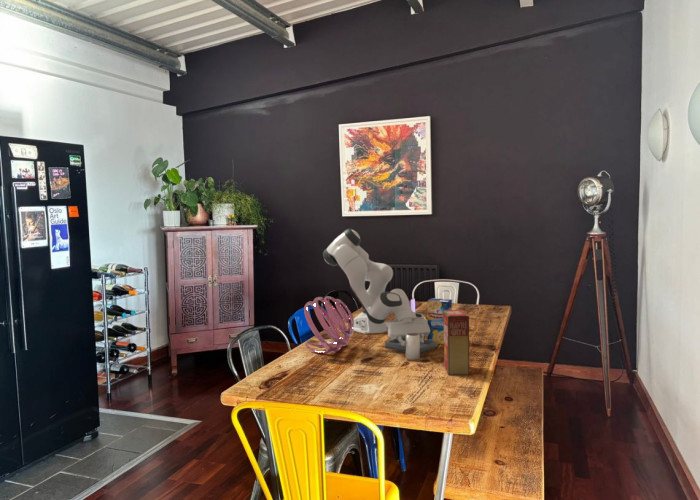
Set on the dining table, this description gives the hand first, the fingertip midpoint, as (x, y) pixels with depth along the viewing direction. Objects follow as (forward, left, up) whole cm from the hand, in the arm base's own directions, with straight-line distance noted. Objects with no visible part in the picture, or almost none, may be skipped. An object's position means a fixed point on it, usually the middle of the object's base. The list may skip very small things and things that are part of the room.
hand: (413, 344), depth 239 cm
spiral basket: (-39, -14, -7) cm, 42 cm away
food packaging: (+25, -5, -7) cm, 26 cm away
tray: (-10, +14, -6) cm, 19 cm away
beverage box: (-4, +32, -7) cm, 33 cm away
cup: (0, 0, -6) cm, 6 cm away
